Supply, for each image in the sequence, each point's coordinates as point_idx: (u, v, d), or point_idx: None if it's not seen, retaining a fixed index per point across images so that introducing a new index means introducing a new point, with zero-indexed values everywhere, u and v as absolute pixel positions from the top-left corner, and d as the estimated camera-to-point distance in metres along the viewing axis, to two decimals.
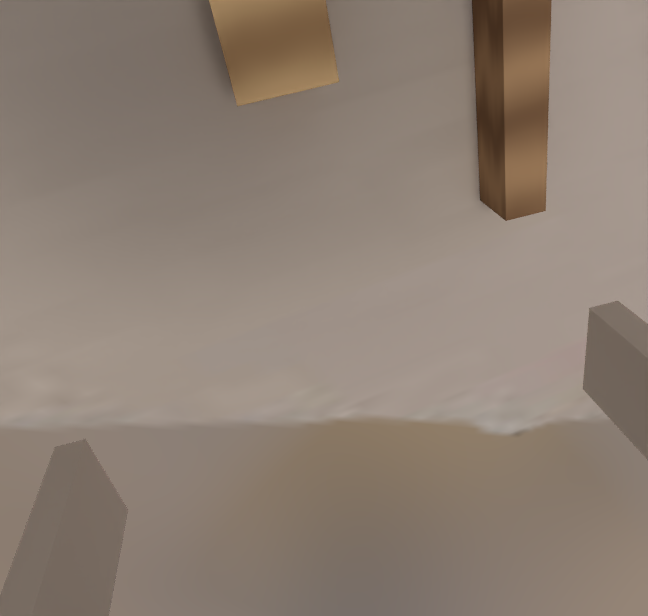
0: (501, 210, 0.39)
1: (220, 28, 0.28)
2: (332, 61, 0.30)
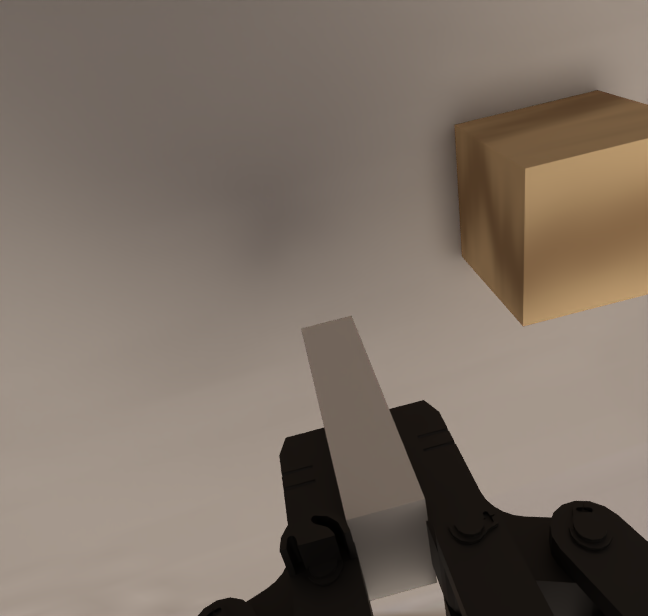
0: None
1: (530, 226, 0.17)
2: None
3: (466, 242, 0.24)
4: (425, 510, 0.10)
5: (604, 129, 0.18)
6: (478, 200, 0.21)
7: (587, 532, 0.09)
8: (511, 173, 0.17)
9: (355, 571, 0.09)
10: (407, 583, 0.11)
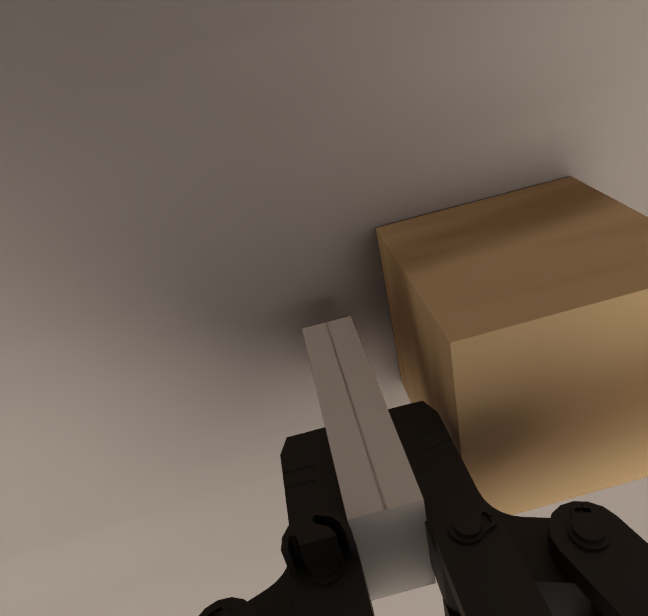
0: None
1: (467, 413, 0.12)
2: None
3: (404, 372, 0.18)
4: (424, 510, 0.10)
5: (576, 261, 0.12)
6: (408, 336, 0.15)
7: (586, 532, 0.09)
8: (436, 335, 0.12)
9: (356, 571, 0.09)
10: (406, 583, 0.11)
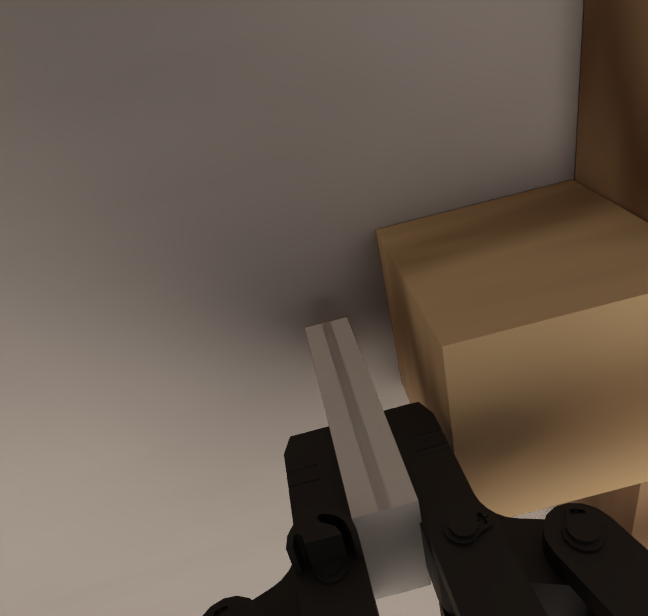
0: None
1: (460, 416, 0.12)
2: None
3: (403, 373, 0.18)
4: (419, 512, 0.10)
5: (572, 266, 0.12)
6: (406, 338, 0.15)
7: (580, 534, 0.09)
8: (430, 339, 0.12)
9: (361, 570, 0.09)
10: (402, 585, 0.11)
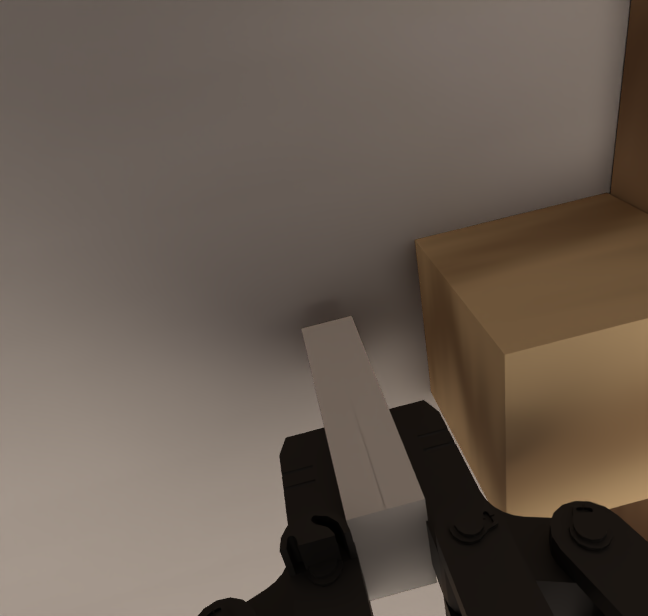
0: None
1: (515, 424, 0.12)
2: None
3: (435, 382, 0.18)
4: (425, 510, 0.10)
5: (621, 276, 0.12)
6: (446, 346, 0.15)
7: (587, 532, 0.09)
8: (486, 346, 0.12)
9: (355, 571, 0.09)
10: (407, 583, 0.11)
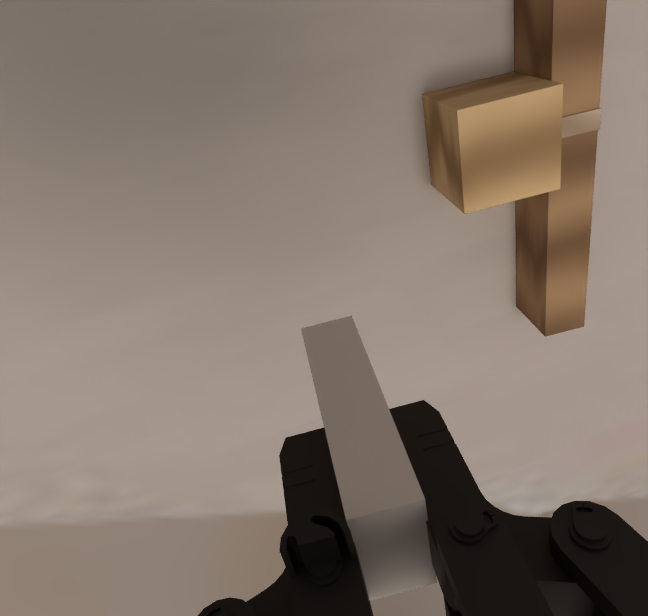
0: (540, 325, 0.40)
1: (463, 146, 0.30)
2: (557, 171, 0.32)
3: (433, 173, 0.36)
4: (425, 510, 0.10)
5: (506, 90, 0.30)
6: (437, 140, 0.33)
7: (587, 532, 0.09)
8: (451, 115, 0.30)
9: (355, 571, 0.09)
10: (407, 582, 0.11)
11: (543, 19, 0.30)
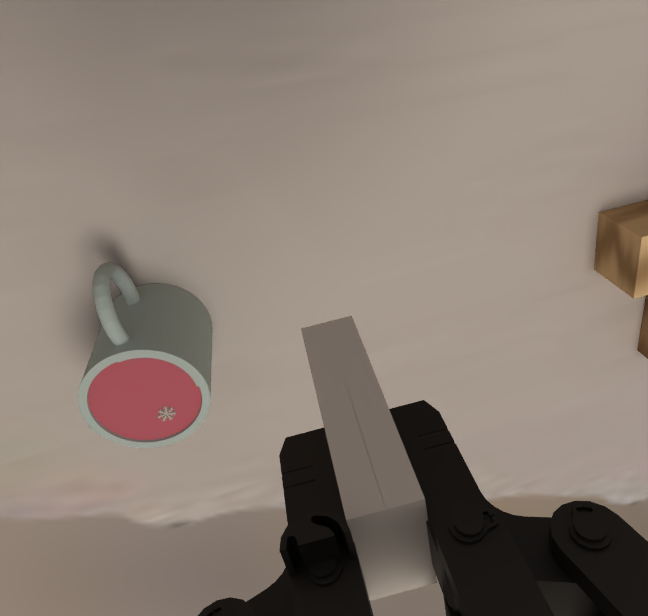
0: None
1: (641, 258, 0.45)
2: None
3: (598, 263, 0.51)
4: (425, 510, 0.10)
5: None
6: (610, 245, 0.49)
7: (587, 532, 0.09)
8: (634, 238, 0.45)
9: (355, 571, 0.09)
10: (407, 583, 0.11)
11: None
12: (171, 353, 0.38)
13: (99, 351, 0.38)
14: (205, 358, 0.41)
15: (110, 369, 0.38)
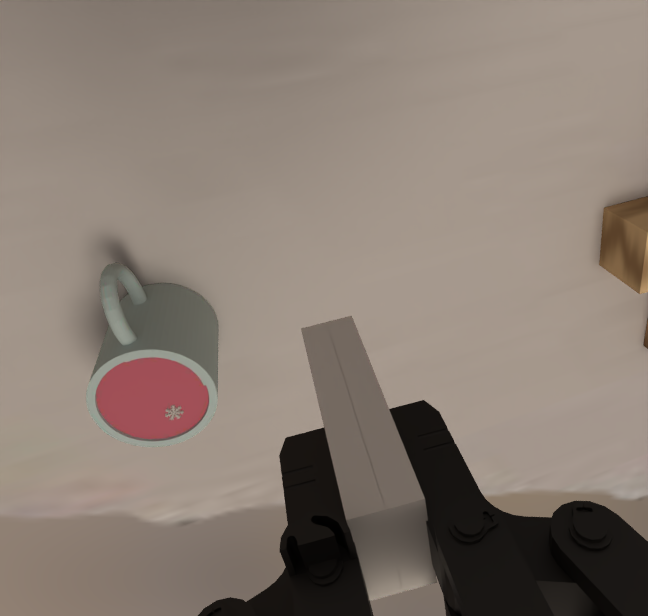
0: None
1: (647, 253, 0.45)
2: None
3: (603, 258, 0.51)
4: (425, 510, 0.10)
5: None
6: (616, 241, 0.49)
7: (587, 532, 0.09)
8: (639, 233, 0.45)
9: (355, 571, 0.09)
10: (407, 583, 0.11)
11: None
12: (178, 352, 0.38)
13: (107, 351, 0.39)
14: (212, 357, 0.42)
15: (118, 369, 0.38)
